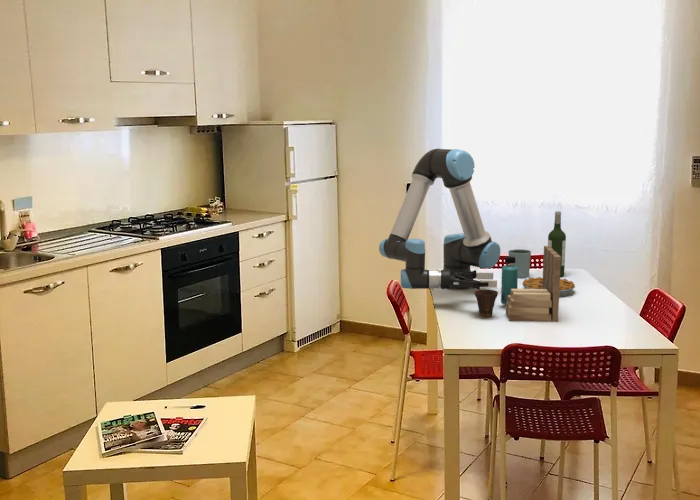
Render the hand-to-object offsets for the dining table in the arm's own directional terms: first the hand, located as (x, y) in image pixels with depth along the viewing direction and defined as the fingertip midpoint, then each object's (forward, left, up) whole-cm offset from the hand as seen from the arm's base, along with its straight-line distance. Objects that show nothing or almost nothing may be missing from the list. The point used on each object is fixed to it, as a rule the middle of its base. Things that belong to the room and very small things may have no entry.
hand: (495, 279), depth 290 cm
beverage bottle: (-1, +6, -11) cm, 13 cm away
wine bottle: (-58, +35, -11) cm, 68 cm away
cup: (+13, -5, -11) cm, 18 cm away
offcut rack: (+8, +12, -11) cm, 18 cm away
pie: (-27, +26, -11) cm, 39 cm away
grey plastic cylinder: (-56, +18, -11) cm, 59 cm away
